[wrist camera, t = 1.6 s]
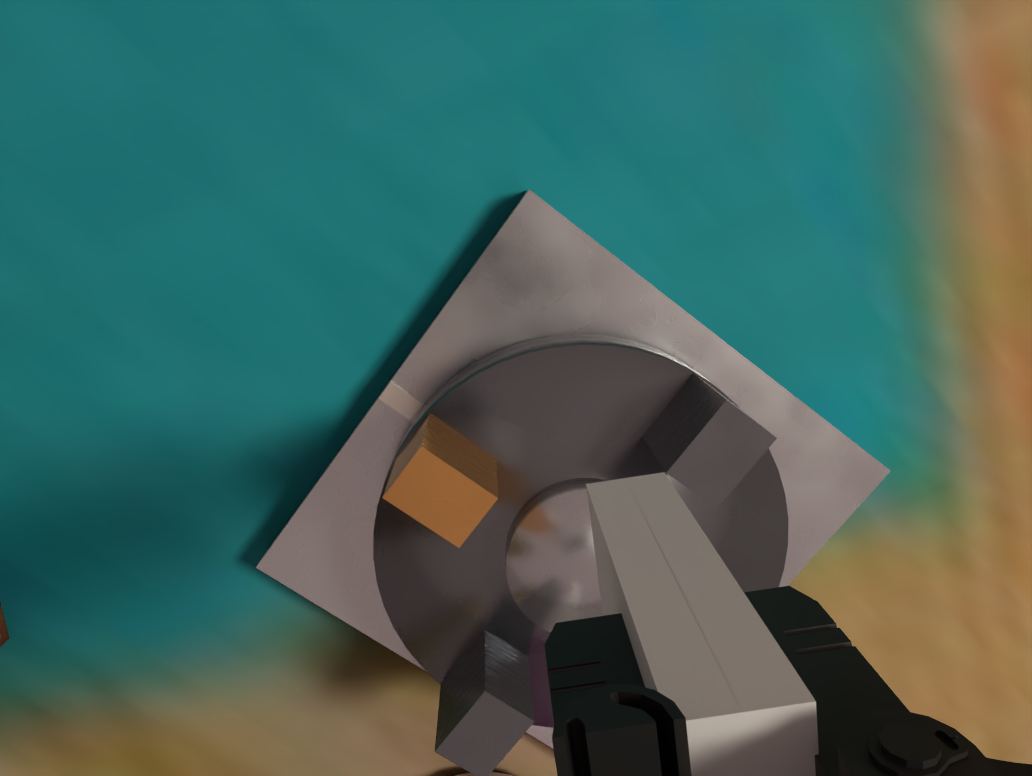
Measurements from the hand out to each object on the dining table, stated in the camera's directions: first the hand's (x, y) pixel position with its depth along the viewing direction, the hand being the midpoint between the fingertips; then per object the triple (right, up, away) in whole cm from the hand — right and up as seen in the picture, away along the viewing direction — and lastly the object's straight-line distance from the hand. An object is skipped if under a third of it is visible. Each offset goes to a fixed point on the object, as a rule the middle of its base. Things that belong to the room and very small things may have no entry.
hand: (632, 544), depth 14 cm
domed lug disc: (0, -2, +15) cm, 15 cm away
